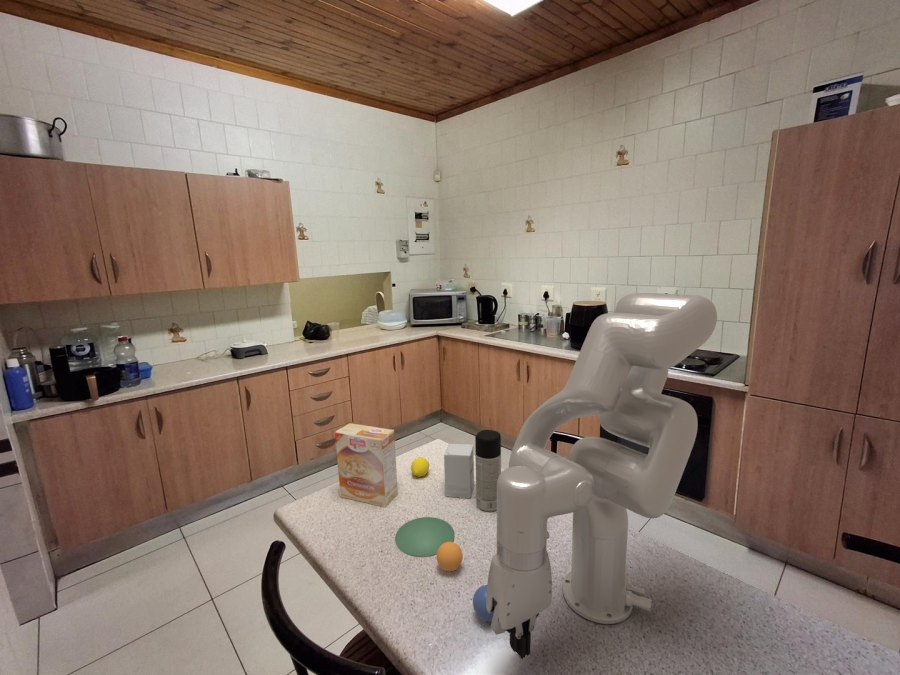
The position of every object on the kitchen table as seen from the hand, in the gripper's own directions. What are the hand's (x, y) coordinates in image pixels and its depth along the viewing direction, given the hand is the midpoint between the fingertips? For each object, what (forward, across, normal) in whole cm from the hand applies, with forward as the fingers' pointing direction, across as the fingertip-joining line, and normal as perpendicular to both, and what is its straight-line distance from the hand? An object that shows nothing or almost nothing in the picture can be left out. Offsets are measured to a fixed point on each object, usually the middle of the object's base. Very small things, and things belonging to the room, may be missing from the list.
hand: (520, 649), depth 66 cm
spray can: (+2, -20, -38) cm, 43 cm away
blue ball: (-1, 0, -10) cm, 10 cm away
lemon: (+2, -12, -62) cm, 63 cm away
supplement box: (+2, -18, -48) cm, 51 cm away
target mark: (+2, 0, -36) cm, 36 cm away
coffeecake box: (+2, +5, -59) cm, 60 cm away
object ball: (-1, 0, -24) cm, 24 cm away
